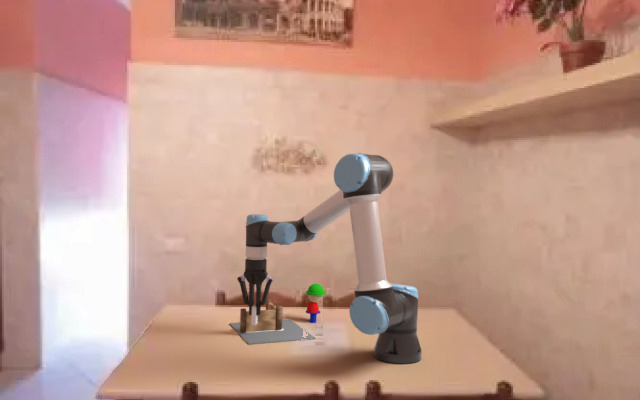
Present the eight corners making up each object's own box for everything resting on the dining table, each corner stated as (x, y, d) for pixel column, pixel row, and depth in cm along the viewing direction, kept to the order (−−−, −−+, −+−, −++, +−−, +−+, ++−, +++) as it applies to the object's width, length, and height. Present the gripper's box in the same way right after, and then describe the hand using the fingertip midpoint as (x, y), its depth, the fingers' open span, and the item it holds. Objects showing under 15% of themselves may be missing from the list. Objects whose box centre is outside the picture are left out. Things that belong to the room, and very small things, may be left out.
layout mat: (315, 338, 200) (315, 337, 200) (248, 344, 191) (248, 343, 191) (289, 319, 226) (289, 318, 226) (229, 324, 217) (229, 322, 217)
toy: (325, 324, 221) (326, 285, 220) (304, 323, 221) (305, 285, 220) (325, 319, 229) (326, 282, 228) (305, 318, 229) (306, 281, 228)
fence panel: (274, 328, 210) (274, 306, 210) (275, 329, 208) (276, 307, 208) (239, 330, 205) (239, 308, 205) (240, 332, 203) (241, 309, 203)
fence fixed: (282, 331, 209) (283, 306, 209) (276, 331, 208) (277, 307, 208) (270, 320, 224) (270, 298, 223) (264, 321, 223) (264, 298, 222)
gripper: (276, 257, 205) (274, 322, 206) (241, 255, 207) (239, 320, 208) (271, 260, 197) (269, 328, 198) (235, 258, 199) (233, 325, 200)
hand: (254, 324), depth 203 cm, fingers closed
